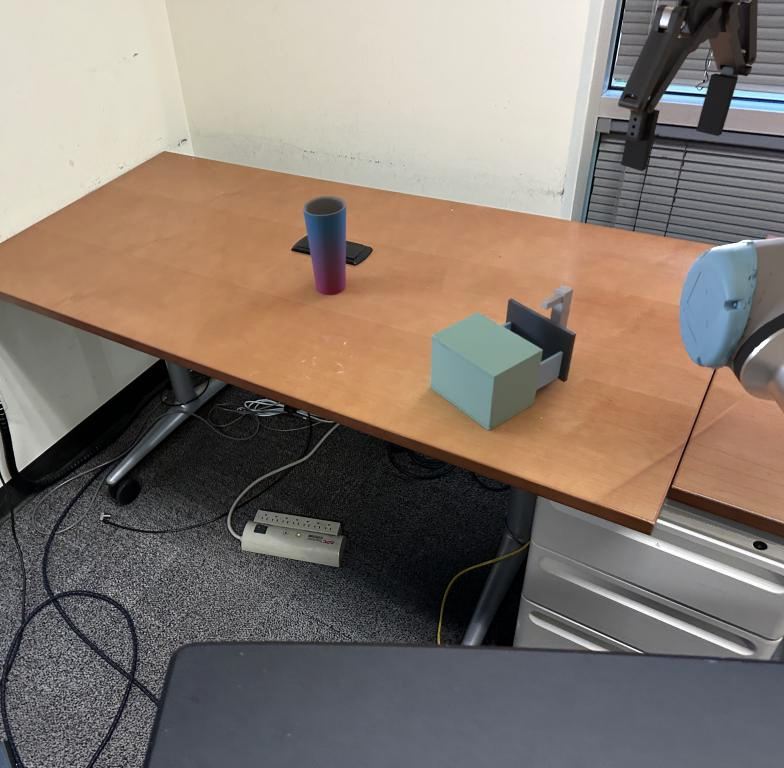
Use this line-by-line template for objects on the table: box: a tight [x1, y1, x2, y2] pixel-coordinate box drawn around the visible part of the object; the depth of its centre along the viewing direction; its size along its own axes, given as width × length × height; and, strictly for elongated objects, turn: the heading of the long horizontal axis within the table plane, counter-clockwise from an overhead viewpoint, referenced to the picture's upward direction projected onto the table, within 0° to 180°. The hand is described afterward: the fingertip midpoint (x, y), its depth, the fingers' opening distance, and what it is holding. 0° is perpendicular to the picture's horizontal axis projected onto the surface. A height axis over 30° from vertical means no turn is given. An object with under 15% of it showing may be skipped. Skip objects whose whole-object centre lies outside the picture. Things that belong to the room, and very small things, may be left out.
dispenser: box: [429, 311, 543, 431], centre depth 89 cm, size 8×11×9 cm
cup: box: [302, 195, 347, 296], centre depth 112 cm, size 7×7×15 cm
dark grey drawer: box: [501, 284, 577, 391], centre depth 91 cm, size 12×11×10 cm
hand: (672, 149), depth 81 cm, fingers open, 13 cm apart
